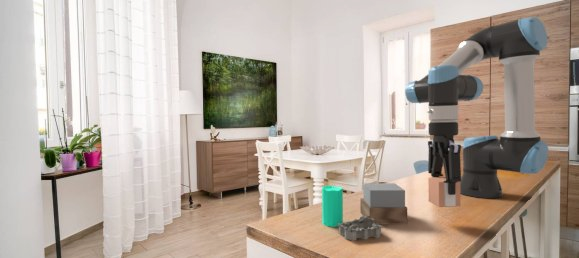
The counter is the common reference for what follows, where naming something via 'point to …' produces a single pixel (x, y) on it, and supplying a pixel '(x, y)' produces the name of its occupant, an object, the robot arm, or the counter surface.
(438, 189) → the terracotta block
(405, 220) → the tower base
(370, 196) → the gray tower middle block
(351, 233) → the egg carton
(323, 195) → the candle
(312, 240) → the counter surface
